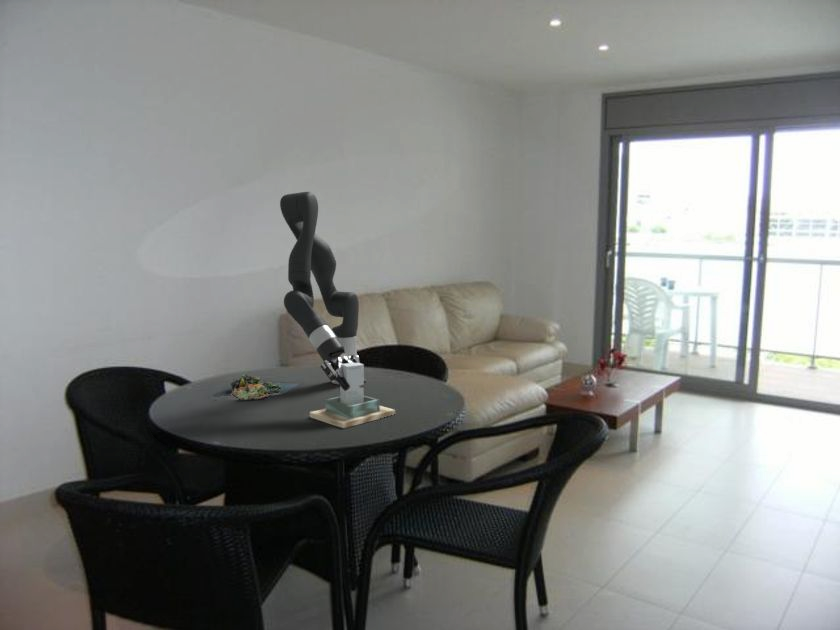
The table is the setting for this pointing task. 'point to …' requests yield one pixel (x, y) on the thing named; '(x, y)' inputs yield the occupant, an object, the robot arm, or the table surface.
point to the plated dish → (254, 388)
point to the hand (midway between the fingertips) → (356, 386)
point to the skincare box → (353, 384)
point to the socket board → (351, 412)
